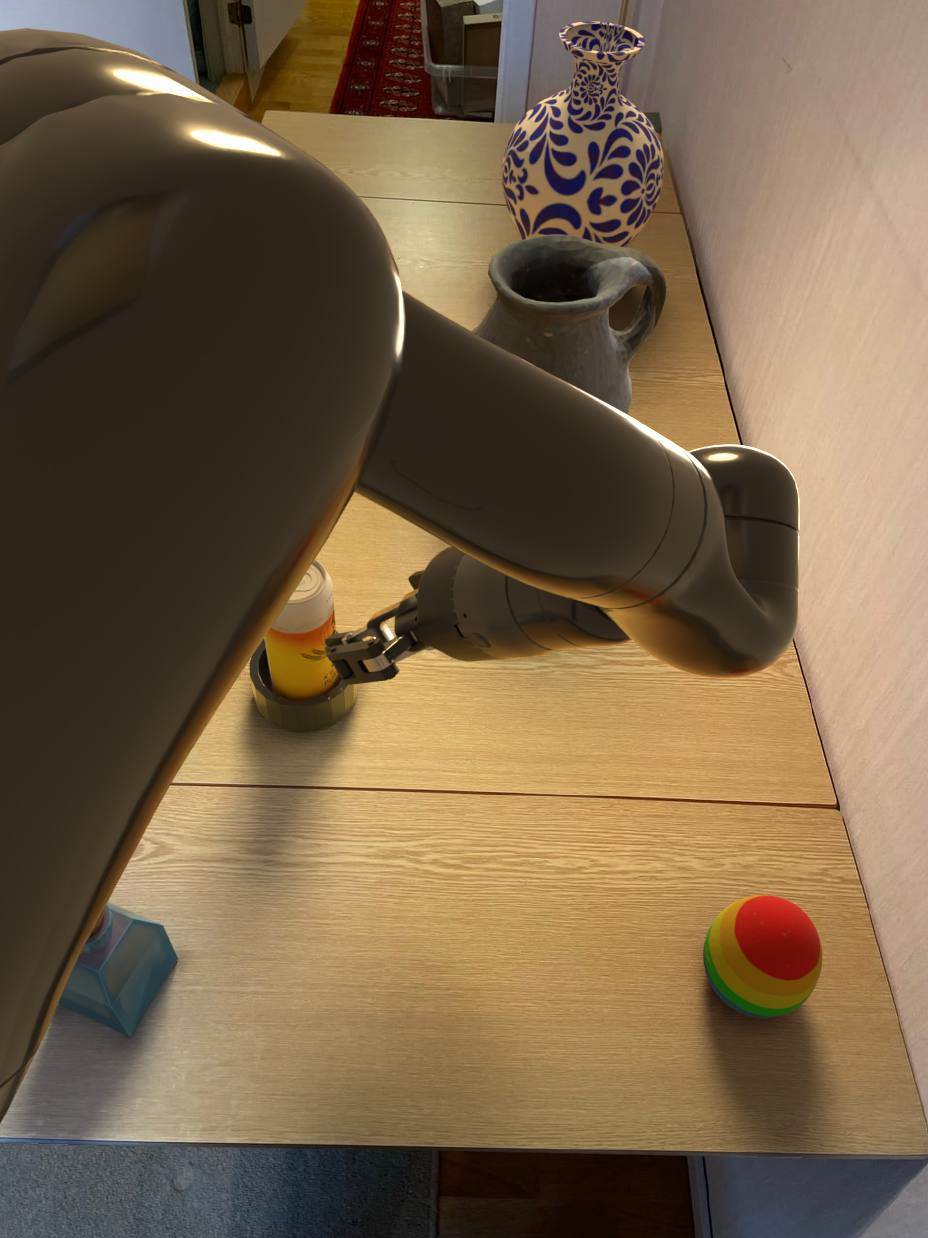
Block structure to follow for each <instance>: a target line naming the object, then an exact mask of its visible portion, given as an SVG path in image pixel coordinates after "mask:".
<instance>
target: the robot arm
mask: <svg viewBox="0 0 928 1238" xmlns="http://www.w3.org/2000/svg"><path fill="white" fill-rule="evenodd" d="M471 331H472V330H470V329H468V328H466V327H465V326H462V325H461V324H460V323H458V322H456V321H454V320H453V319H451V318H449V317H447V316H445V315H444V314H442V313H440V312H439V311H437V310H435V309H434V308H432V307H431V306H429V305H427V304H426V303H424V302H422V301H421V300H419V299H418V298H417V297H415V296H413V295H412V294H410V293H409V292H406V291H405V290H404V289H402V283H401V276H400V271H399V268H398V265H397V262H396V259H395V256H394V254H393V251H392V249H391V245H390V243H389V240H388V239H387V236H386V234H385V233H384V231H383V229H382V227H381V225H380V223H379V221H378V220H377V219H376V217H375V215H374V214H373V212H372V211H371V210H370V208H369V207H368V205H367V204H366V203H364V201H363V200H362V199H361V198H360V196H358V194H357V193H355V191H354V190H353V189H351V187H350V186H349V185H348V184H347V183H346V182H345V181H344V180H343V179H342V178H341V177H339V176H338V175H337V174H336V173H335V172H333V171H332V170H331V169H330V168H328V167H327V165H325V164H324V163H322V162H321V161H320V160H318V159H317V158H315V157H314V156H312V155H311V154H310V153H308V152H306V151H305V150H304V149H302V148H300V147H298V146H297V145H295V144H294V143H292V142H291V141H289V140H288V139H286V138H285V137H283V136H282V135H280V134H279V133H277V132H275V131H274V130H272V129H271V128H269V127H268V126H266V125H264V124H262V123H261V122H258V121H257V120H255V119H254V118H252V117H251V116H250V115H248V114H247V113H245V112H243V111H242V110H240V109H239V108H238V107H236V106H234V105H232V104H231V103H229V102H227V101H225V100H224V99H223V98H221V97H219V96H218V95H216V94H214V93H213V92H211V91H209V90H208V89H206V88H205V87H202V86H201V85H199V84H198V83H196V82H195V81H193V80H192V79H189V77H186V76H185V75H183V74H181V73H180V72H177V71H176V70H174V69H171V68H169V67H168V66H166V65H164V64H162V63H160V62H159V61H156V60H155V59H154V58H151V57H149V56H147V55H146V54H144V53H142V52H140V51H138V50H135V49H132V48H129V47H126V46H123V45H120V44H116V43H112V42H110V41H106V40H103V39H100V38H96V37H93V36H90V35H86V34H83V33H77V32H67V31H57V30H48V29H38V28H27V27H25V28H17V29H16V28H15V29H6V30H0V1124H1V1123H2V1121H3V1120H4V1119H5V1116H6V1115H7V1113H8V1111H9V1109H10V1107H11V1105H12V1103H13V1101H14V1099H15V1097H16V1096H17V1093H18V1091H19V1089H20V1087H21V1085H22V1082H23V1081H24V1079H25V1076H26V1075H27V1073H28V1071H29V1068H30V1066H31V1065H32V1062H33V1060H34V1058H35V1056H36V1055H37V1052H38V1050H39V1048H40V1047H41V1044H42V1042H43V1040H44V1038H45V1036H46V1034H47V1032H48V1030H49V1028H50V1026H51V1023H52V1020H53V1018H54V1015H55V1013H56V1011H57V1008H58V1006H59V1001H60V999H61V996H62V994H63V992H64V989H65V987H66V984H67V982H68V979H69V977H70V975H71V972H72V970H73V968H74V966H75V964H76V961H77V959H78V958H79V956H80V954H81V952H82V950H83V948H84V946H85V944H86V942H87V940H88V938H89V936H90V934H91V933H92V931H93V929H94V927H95V925H96V923H97V921H98V919H99V917H100V916H101V914H102V912H103V910H104V908H105V906H106V904H107V902H109V900H110V898H111V896H112V895H113V893H114V891H115V889H116V888H117V885H118V883H119V881H120V880H121V877H122V875H123V874H124V872H125V870H126V868H127V866H128V865H129V862H130V861H131V860H132V857H133V855H134V853H135V852H136V850H137V848H138V846H139V844H140V843H141V840H142V839H143V837H144V834H145V833H146V830H147V829H148V827H149V825H150V823H151V821H152V819H153V817H154V815H155V814H156V812H157V810H158V808H159V807H160V804H161V803H162V801H163V799H164V797H165V796H166V794H167V792H168V790H169V789H170V786H171V784H172V783H173V781H174V779H175V778H176V776H177V775H178V773H179V771H180V769H181V768H182V766H183V764H184V763H185V761H186V759H188V756H189V755H190V753H191V751H192V750H193V748H194V747H195V745H196V743H197V742H198V741H199V739H200V737H201V736H202V734H203V732H204V731H205V730H206V728H207V726H208V725H209V723H210V722H211V720H212V718H213V717H214V715H215V714H216V712H217V710H218V709H219V708H220V706H221V704H222V703H223V701H224V700H225V698H226V697H227V695H228V694H229V692H230V690H232V687H233V686H234V685H235V683H236V681H237V680H238V678H239V677H240V675H241V674H242V672H243V671H244V670H245V668H246V666H247V664H248V663H250V660H251V657H252V655H253V654H254V652H255V651H256V649H257V648H258V646H259V645H260V643H261V642H262V640H263V639H264V637H265V636H266V634H267V633H268V631H269V629H270V628H271V626H272V625H273V623H274V622H275V620H276V619H277V617H278V616H279V614H280V613H281V611H282V610H283V608H284V607H285V605H286V604H287V602H288V600H289V599H290V597H291V596H292V594H293V593H294V591H295V590H296V588H297V586H298V585H299V583H300V582H301V580H302V579H303V577H304V575H305V574H306V572H307V571H308V569H309V568H310V566H311V565H312V563H313V561H314V560H316V558H317V557H318V555H319V554H320V552H321V550H322V549H323V547H324V545H325V544H326V542H327V541H328V539H329V537H331V534H332V533H333V531H334V529H335V528H336V526H337V524H338V522H339V520H340V518H342V515H343V513H344V511H345V509H346V508H347V506H348V504H349V503H350V501H351V499H352V498H353V496H354V494H357V495H359V496H360V497H362V498H365V499H366V500H368V501H370V502H372V503H374V504H375V505H378V506H379V507H381V508H383V509H385V510H387V511H388V512H390V513H392V514H394V515H396V516H397V517H399V518H401V519H403V520H404V521H407V522H408V523H410V524H412V525H414V526H415V527H417V528H419V529H421V530H423V531H424V532H426V533H428V534H430V535H431V536H433V537H435V538H437V539H438V540H440V541H442V542H444V544H447V545H449V547H446V548H444V549H443V550H441V551H439V552H438V553H437V554H436V555H434V557H432V559H431V560H430V561H429V563H428V564H427V565H426V567H425V568H424V569H423V570H417V571H415V572H414V573H412V574H411V575H409V576H408V579H407V580H408V582H409V584H410V586H411V587H412V589H413V590H412V591H409V592H408V593H406V594H404V596H403V598H402V599H401V600H400V601H397V602H395V603H393V604H391V605H389V606H387V607H385V608H383V609H381V610H378V611H377V612H375V613H373V614H372V615H371V617H370V618H369V619H368V621H366V625H364V626H362V627H360V628H357V629H355V630H351V631H345V632H338V633H337V634H332V635H331V636H329V637H328V638H327V639H325V644H326V647H325V648H324V649H325V650H326V652H327V654H326V656H327V657H328V659H329V661H331V662H332V664H333V666H334V667H335V669H336V670H337V672H338V674H339V675H340V677H341V680H342V681H343V683H344V684H345V685H352V684H357V685H361V684H368V683H379V682H386V681H389V680H393V679H394V678H396V676H397V675H398V674H399V673H400V669H399V667H398V666H397V664H396V663H398V662H401V661H403V660H405V659H407V658H409V657H411V656H414V655H416V654H418V653H421V652H423V651H429V652H430V651H434V650H437V651H438V652H440V653H442V654H444V655H446V656H447V657H450V658H452V659H453V660H457V661H462V662H469V663H470V662H481V661H482V662H486V661H496V660H497V661H498V660H499V661H500V660H511V659H513V660H514V659H525V658H535V657H541V656H542V657H543V656H547V655H550V654H553V653H556V652H560V651H568V650H569V651H571V650H582V649H595V648H606V647H615V646H619V645H623V644H626V643H629V642H631V641H633V643H635V644H636V645H637V646H639V648H641V649H642V650H643V651H645V652H646V653H647V654H648V655H650V656H651V657H653V658H655V659H656V660H658V661H659V662H661V663H664V664H665V665H668V666H670V667H672V668H674V669H676V670H680V671H681V672H684V673H688V674H691V675H696V676H700V677H706V678H713V679H736V678H737V679H738V678H743V677H748V676H751V675H755V674H757V673H760V672H762V671H764V670H766V669H767V668H769V667H771V666H772V665H774V664H775V663H777V662H778V661H779V660H780V659H781V658H782V657H783V656H784V655H785V653H786V652H787V650H788V649H789V648H790V646H791V644H792V643H793V641H794V639H795V636H796V633H797V629H798V622H799V614H800V613H799V611H800V610H799V603H800V600H799V599H800V598H799V597H800V593H799V588H800V587H799V586H800V585H799V581H800V535H799V533H800V495H799V490H798V485H797V482H796V479H795V477H794V475H793V473H792V472H791V470H789V468H788V467H787V466H786V465H785V463H784V462H782V461H781V460H780V459H778V458H777V457H775V456H774V455H772V454H771V453H768V452H766V451H765V450H761V449H758V448H756V447H753V446H747V445H741V444H716V445H715V444H714V445H709V446H704V447H700V448H695V449H692V450H689V451H687V450H685V449H684V448H682V447H680V446H679V445H677V444H675V442H673V441H672V440H670V439H668V438H666V437H665V436H663V435H661V434H660V433H658V432H657V431H655V430H653V429H652V428H650V427H648V426H646V425H645V424H643V423H642V422H640V421H639V420H637V419H635V418H633V417H631V416H630V415H629V414H628V415H626V414H625V413H623V412H621V411H619V410H618V409H616V408H614V407H612V406H610V405H608V404H607V403H605V402H603V401H601V400H599V399H597V398H595V397H593V396H591V395H590V394H588V393H586V392H584V391H582V390H580V389H578V388H576V387H574V386H573V385H571V384H569V383H567V382H565V381H563V380H561V379H559V378H557V377H555V376H554V375H552V374H550V373H548V372H546V371H544V370H542V369H540V368H538V367H536V366H534V365H533V364H531V363H529V362H527V361H525V360H523V359H521V358H519V357H518V356H516V355H514V354H512V353H510V352H508V351H506V350H505V349H503V348H501V347H499V346H497V345H495V344H493V343H492V342H490V341H488V340H486V339H484V338H482V337H480V336H479V335H477V334H475V333H473V332H471ZM392 618H394V625H393V628H394V629H393V632H394V635H395V636H394V635H393V633H392V631H391V629H390V628H389V626H388V625H387V623H386V622H387V621H388V620H391V619H392ZM368 637H371V638H369V639H367V640H366V638H368ZM364 639H365V640H364Z"/></svg>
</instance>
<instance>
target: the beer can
mask: <svg viewBox="0 0 928 1238" xmlns="http://www.w3.org/2000/svg"><path fill="white" fill-rule="evenodd" d="M333 585H334V584H333V580H332V578H331V576H330V574H329V573H328V572H327V570H326V569H325V567H324V565H323V564H322V563H321V562H320V561H319V560H317V559H315V560H314V561H313V563H312V565H311V566H310V568H309V569H308V571H307V572H306V574H305V575H304V577H303V579H302V580H301V582H300V583H299V585H298V586H297V588H296V590H295V591H294V593H293V594H292V596H291V597H290V599H289V600H288V602H287V604H286V605H285V607H284V608H283V610H282V611H281V613H280V614H279V616H278V617H277V619H276V620H275V622H274V623H273V625H272V626H271V628H270V629H269V631H268V633H267V634H266V636H265V637H264V639H265V645H266V652H267V658H268V664H269V670H270V676H271V682H272V688H273V692H274V693H275V694H277V695H279V696H281V697H283V698H287V699H293V700H305V699H313V698H316V697H319V696H321V695H324V694H326V693H328V692H329V691H331V690H332V689H334V688H335V687H336V686H337V685H338V684H339V683H340V676H339V674H338V672H337V670H336V669H335V667H334V666H333V664H332V662H331V661H329V659H328V657H327V656H326V654H327V652H326V650H325V649H324V648H325V647H326V644H325V639H327V638H328V637H329V636H331V635H332V634H336V631H337V625H336V610H335V598H334V586H333Z"/></svg>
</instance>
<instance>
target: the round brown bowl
mask: <svg viewBox="0 0 928 1238" xmlns="http://www.w3.org/2000/svg"><path fill="white" fill-rule="evenodd" d="M337 633H339V631H338V630H336V634H337ZM248 663H249V665H248V666H249V680H250V685H251V690H252V695H253V700H254V701H255V705H256V708H257V710H258V712H259V713H260V715H261V716H262V717H263V718H264V719H265V720H266V721H267V722H269V724H271V725H273V726H275V727H276V728H279V729H281V730H284V731H287V732H291V733H292V732H293V733H303V734H304V733H314V732H317V731H323V730H324V729H327V728H329V727H332V726H333V725H335V724H337V723H338V722H340V721H341V720H342V719H344V717H345V716H347V714H348V713H349V712H350V711H351V709H352V708H353V706H354V704H355V702H356V698H357V695H358V684H352V685H345V684H344V683H343V681H342V680H341V677H340V683H339V684H338V685H337V686H336V687H335V688H334V689H332V690H331V691H329V692H328V693H326V694H324V695H321V696H319V697H316V698H313V699H305V700H293V699H287V698H283V697H281V696H279V695H277V694H275V693H274V692H273V688H272V682H271V676H270V670H269V664H268V658H267V652H266V645H265V639H263V640H262V642H261V643H260V645H259V646H258V648H257V649H256V651H255V652H254V654H253V655H252V657H251V658H250V660H249V662H248ZM339 676H340V675H339Z"/></svg>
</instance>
